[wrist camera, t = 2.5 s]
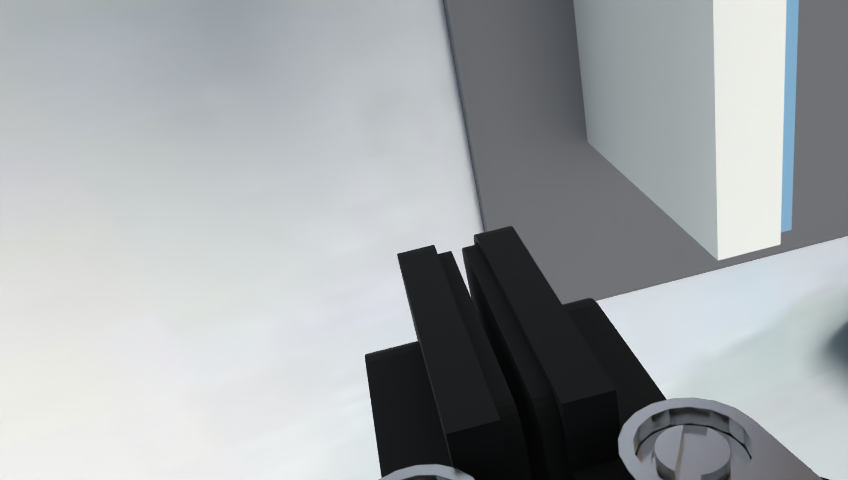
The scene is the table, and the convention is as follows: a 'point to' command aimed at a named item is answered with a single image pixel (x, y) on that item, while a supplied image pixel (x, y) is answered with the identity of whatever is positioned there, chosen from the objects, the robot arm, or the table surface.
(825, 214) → the mat
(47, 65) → the table surface
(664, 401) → the robot arm
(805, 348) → the table surface
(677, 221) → the tile
